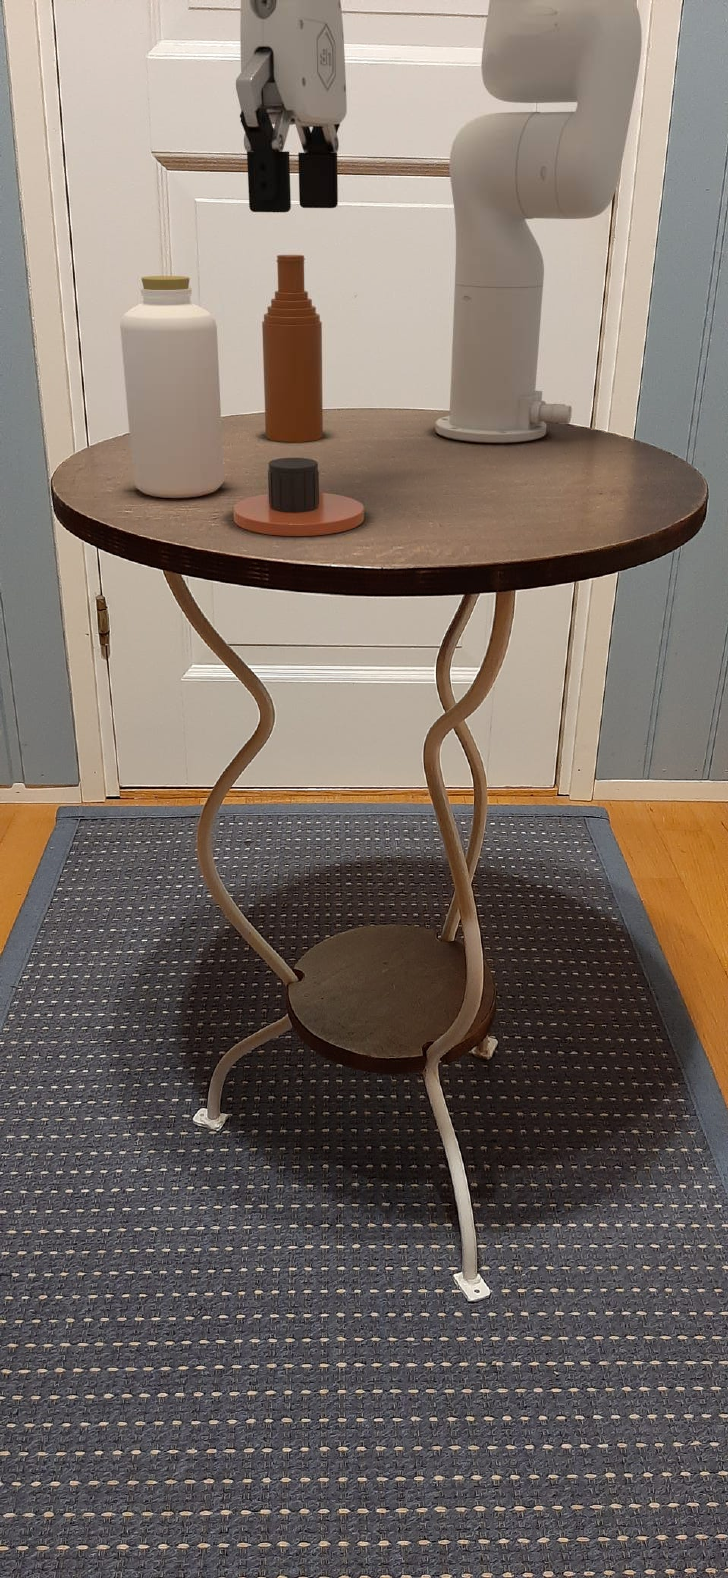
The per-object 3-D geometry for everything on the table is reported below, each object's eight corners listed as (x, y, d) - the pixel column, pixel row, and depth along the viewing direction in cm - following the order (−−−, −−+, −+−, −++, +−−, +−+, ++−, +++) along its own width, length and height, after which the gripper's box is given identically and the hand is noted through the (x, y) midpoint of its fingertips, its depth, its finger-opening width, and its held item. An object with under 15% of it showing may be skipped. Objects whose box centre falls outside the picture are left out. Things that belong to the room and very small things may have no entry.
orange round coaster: (382, 510, 100) (383, 498, 100) (332, 542, 91) (332, 529, 91) (269, 498, 104) (269, 486, 103) (210, 527, 95) (209, 515, 94)
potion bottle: (126, 483, 108) (108, 274, 100) (213, 477, 111) (202, 273, 103) (142, 503, 102) (124, 281, 93) (234, 496, 104) (224, 280, 96)
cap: (259, 506, 97) (258, 462, 95) (296, 498, 100) (295, 455, 98) (292, 515, 95) (291, 470, 93) (328, 506, 97) (328, 462, 95)
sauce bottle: (331, 433, 131) (330, 254, 122) (309, 443, 126) (307, 257, 117) (279, 429, 133) (275, 253, 124) (256, 439, 127) (249, 255, 119)
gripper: (288, -81, 74) (296, 214, 83) (377, -42, 89) (376, 206, 97) (185, -74, 77) (202, 213, 85) (288, -37, 91) (294, 206, 99)
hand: (295, 209), depth 91 cm, fingers open, 9 cm apart
